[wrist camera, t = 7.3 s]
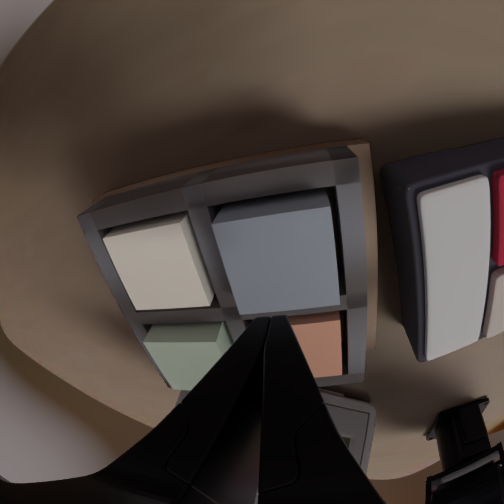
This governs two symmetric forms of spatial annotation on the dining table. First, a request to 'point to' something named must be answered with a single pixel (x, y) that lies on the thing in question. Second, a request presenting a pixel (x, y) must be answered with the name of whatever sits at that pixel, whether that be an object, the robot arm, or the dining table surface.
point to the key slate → (279, 251)
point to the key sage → (187, 350)
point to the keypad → (246, 187)
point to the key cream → (161, 262)
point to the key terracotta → (320, 341)
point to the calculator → (448, 245)
